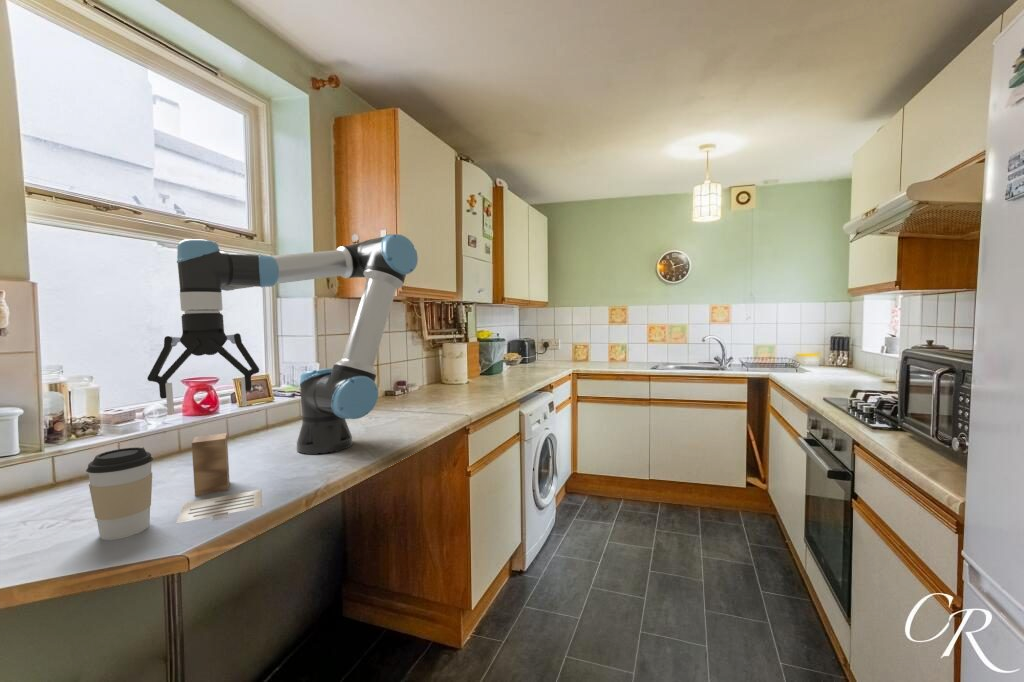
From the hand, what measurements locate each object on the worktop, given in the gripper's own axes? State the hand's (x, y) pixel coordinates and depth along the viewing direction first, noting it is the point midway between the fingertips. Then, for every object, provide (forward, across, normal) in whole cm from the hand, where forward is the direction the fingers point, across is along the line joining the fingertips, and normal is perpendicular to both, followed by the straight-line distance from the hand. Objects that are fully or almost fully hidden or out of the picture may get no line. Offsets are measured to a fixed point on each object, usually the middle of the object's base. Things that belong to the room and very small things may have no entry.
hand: (209, 409), depth 101 cm
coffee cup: (+18, +12, +16) cm, 27 cm away
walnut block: (+18, 0, 0) cm, 18 cm away
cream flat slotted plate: (+18, -2, +12) cm, 22 cm away
